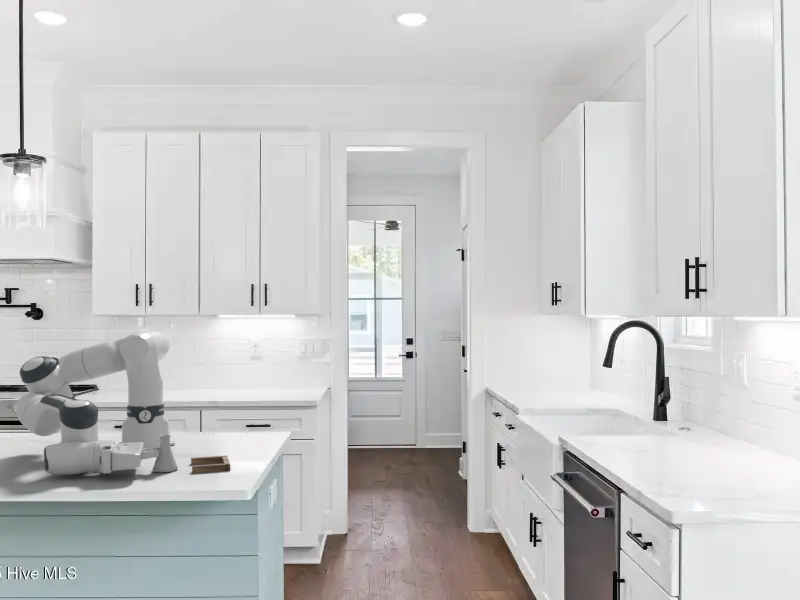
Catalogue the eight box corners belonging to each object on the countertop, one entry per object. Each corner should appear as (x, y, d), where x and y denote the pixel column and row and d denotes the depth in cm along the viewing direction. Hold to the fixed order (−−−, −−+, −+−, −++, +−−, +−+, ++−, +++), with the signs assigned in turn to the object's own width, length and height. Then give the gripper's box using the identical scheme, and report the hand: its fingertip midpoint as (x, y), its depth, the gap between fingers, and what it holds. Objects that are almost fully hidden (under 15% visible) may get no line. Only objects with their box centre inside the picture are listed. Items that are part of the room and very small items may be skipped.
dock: (191, 463, 211) (191, 457, 211) (227, 461, 215) (227, 455, 215) (192, 473, 199) (192, 466, 199) (230, 470, 202) (230, 464, 202)
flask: (173, 473, 199) (173, 437, 199) (147, 473, 199) (147, 437, 199) (181, 467, 206) (181, 433, 207) (157, 467, 207) (157, 433, 207)
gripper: (110, 460, 207) (160, 457, 211) (103, 475, 188) (158, 471, 192) (110, 438, 207) (160, 435, 211) (103, 451, 188) (158, 448, 192)
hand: (159, 452), depth 201 cm, fingers closed
